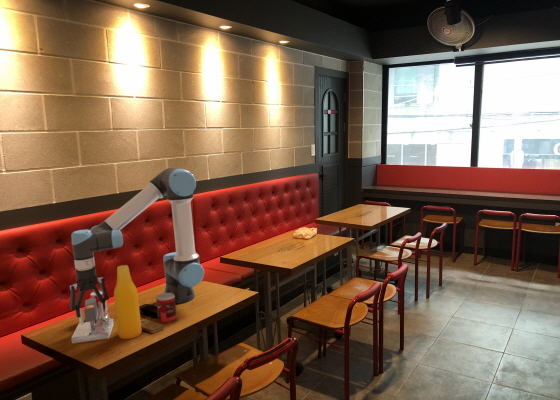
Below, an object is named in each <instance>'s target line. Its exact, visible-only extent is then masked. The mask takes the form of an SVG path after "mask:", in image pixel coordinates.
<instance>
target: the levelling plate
mask: <svg viewBox="0 0 560 400" xmlns="http://www.w3.org/2000/svg"><path fill="white" fill-rule="evenodd" d="M114 324H115V323H114V318H111V316H109V313H108V314H106V315H105V316H104V318H103V320H99V321H96V320H95V327H94V328H91V326H90V321H87V322H86V321H85V322H84V325H81V324H80V322H78V324H77V326H76V328H75V330H74V332H73V333H72V335H71V344H78V343H84V342H93V341H100V340H107V339H110V336H111V333H112V330H113V327H114Z"/></svg>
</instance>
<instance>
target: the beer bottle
mask: <svg viewBox="0 0 560 400" xmlns="http://www.w3.org/2000/svg"><path fill="white" fill-rule="evenodd" d="M116 274H117V275H116V284H115V287H114V291H113V299H114V300H113V301H114V307H115V316H116V317H115V318H116V323H117V324H116V325H117V334H118V337H119V338H120V339H122V340H123V339H124V340H130V339H135V338H137V337H139V336H140V335H141V334H142V329H143V328H142V322H141V313H140V303H139V295H138V294H139V293H138V289H137V286H136V285H135V283H134V282H133V280H132V276H131V273H130V268H129V265H127V264H124V265H123V264H122V265H118V266H117V268H116Z"/></svg>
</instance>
